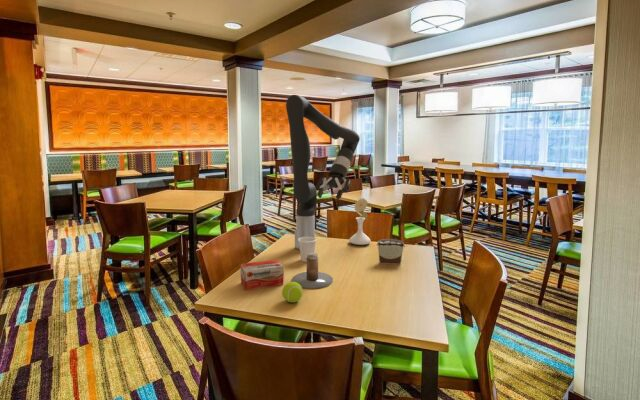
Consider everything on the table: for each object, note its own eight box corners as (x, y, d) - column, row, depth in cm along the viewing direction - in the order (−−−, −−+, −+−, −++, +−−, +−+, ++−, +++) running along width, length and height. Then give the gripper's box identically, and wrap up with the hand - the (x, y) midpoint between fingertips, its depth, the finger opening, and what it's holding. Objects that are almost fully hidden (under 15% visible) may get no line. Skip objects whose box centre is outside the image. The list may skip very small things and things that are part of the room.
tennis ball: (279, 299, 136) (279, 280, 135) (298, 296, 139) (298, 277, 138) (286, 307, 130) (286, 287, 129) (305, 303, 133) (305, 284, 132)
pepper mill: (304, 279, 152) (304, 255, 151) (310, 275, 156) (310, 252, 155) (314, 281, 150) (314, 257, 148) (320, 277, 154) (320, 253, 153)
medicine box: (244, 291, 143) (244, 270, 142) (240, 283, 151) (239, 263, 149) (284, 285, 149) (283, 265, 148) (278, 278, 156) (277, 259, 155)
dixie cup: (314, 263, 173) (314, 242, 172) (296, 262, 175) (296, 240, 173) (318, 257, 181) (318, 237, 180) (300, 256, 183) (300, 236, 181)
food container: (402, 260, 179) (403, 239, 177) (403, 264, 173) (404, 242, 171) (375, 258, 180) (376, 238, 179) (376, 263, 174) (376, 241, 173)
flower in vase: (345, 241, 209) (346, 195, 204) (365, 239, 212) (366, 194, 208) (355, 248, 196) (356, 199, 192) (375, 246, 200) (377, 198, 195)
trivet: (284, 283, 150) (284, 281, 150) (304, 271, 164) (304, 269, 164) (321, 291, 143) (321, 289, 143) (339, 277, 157) (339, 275, 157)
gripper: (323, 162, 173) (310, 191, 165) (352, 163, 166) (341, 193, 158) (328, 173, 178) (316, 201, 170) (356, 175, 172) (345, 204, 164)
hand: (328, 197), depth 164 cm, fingers open, 8 cm apart
